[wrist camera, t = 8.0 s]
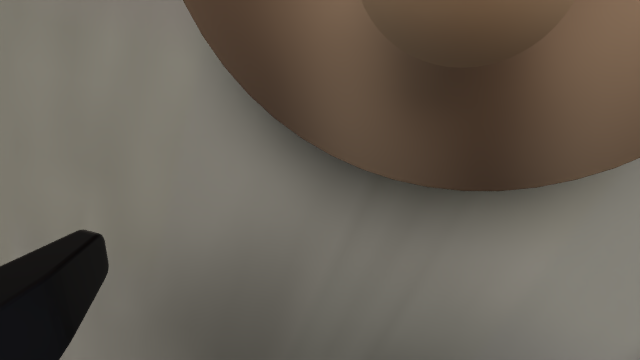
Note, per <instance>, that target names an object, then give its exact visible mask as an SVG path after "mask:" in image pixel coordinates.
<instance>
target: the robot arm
mask: <svg viewBox="0 0 640 360" xmlns="http://www.w3.org/2000/svg"><path fill="white" fill-rule="evenodd" d="M108 267H109V265H108V258H107V252H106V246H105V240H104V238H103V236H102V235H101V234H99V233H95V232H92V231H88V230H79V231H76V232H74V233H72V234H69V235H67V236H65V237H63V238H61V239H59V240H56V241H54V242H52V243H50V244H48V245H46V246H43V247H41V248H39V249H37V250H35V251H33V252H30V253H28V254H26V255H24V256H22V257H20V258H17V259H15V260H13V261H11V262H9V263H7V264H4V265H2V266H0V360H59V359H60V357H61V356H62V355H63V353H64V351H65V350H66V348H67V347H68V345H69V344H70V342H71V340H72V338H73V337H74V335H75V333H76V331H77V330H78V328H79V326H80V324H81V322H82V320H83V318H84V317H85V315H86V313H87V311H88V309H89V307H90V306H91V304H92V302H93V300H94V298H95V296H96V294H97V293H98V291H99V289H100V287H101V285H102V283H103V282H104V280H105V278H106V275H107V273H108Z"/></svg>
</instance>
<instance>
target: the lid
mask: <svg viewBox="0 0 640 360" xmlns="http://www.w3.org/2000/svg"><path fill="white" fill-rule="evenodd" d="M183 1H184V3H185V5H186V7H187V9H188V10H189V12H190V14H191V16H192V18H193V19H194V21H195V23H196V25H197V27H198V28H199V30H200V32H201V34H202V35H203V37H204V38H205V40H206V41H207V43H208V44H209V46H210V47H211V48H212V50H213V51H214V53H215V54H216V55H217V57H218V58H219V60H220V61H221V63H222V64H223V65H224V67H225V68H226V69H227V70H228V71H229V73H230V74H231V75H232V76H233V77H234V78H235V79H236V81H237V82H238V83H239V84H240V85H241V86H242V87H243V88H244V90H245V91H246V92H247V93H248V94H249V95H250V96H251V97H252V98H253V99H254V100H255V101H257V102H258V103H259V104H260V105H261V106H262V107H263V108H264V109H265V110H266V111H267V112H268V113H270V114H271V115H272V116H273V117H274V118H275V119H277V120H278V121H279V122H281V123H282V124H283V125H285V126H286V127H287V128H289V129H290V130H291V131H293V132H294V133H295V134H297V135H298V136H300V137H301V138H302V139H304V140H306V141H308V142H309V143H311V144H313V145H314V146H316V147H318V148H319V149H321V150H323V151H325V152H326V153H328V154H330V155H332V156H334V157H336V158H338V159H340V160H343V161H345V162H347V163H349V164H352V165H354V166H356V167H358V168H360V169H363V170H366V171H369V172H372V173H375V174H378V175H381V176H384V177H387V178H390V179H393V180H398V181H403V182H407V183H412V184H416V185H421V186H426V187H433V188H442V189H451V190H460V191H504V190H515V189H525V188H536V187H541V186H546V185H552V184H557V183H562V182H567V181H572V180H576V179H580V178H583V177H586V176H590V175H593V174H596V173H600V172H603V171H606V170H610V169H613V168H616V167H619V166H621V165H623V164H626V163H628V162H631V161H633V160H636V159H638V158H640V0H183Z"/></svg>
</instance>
